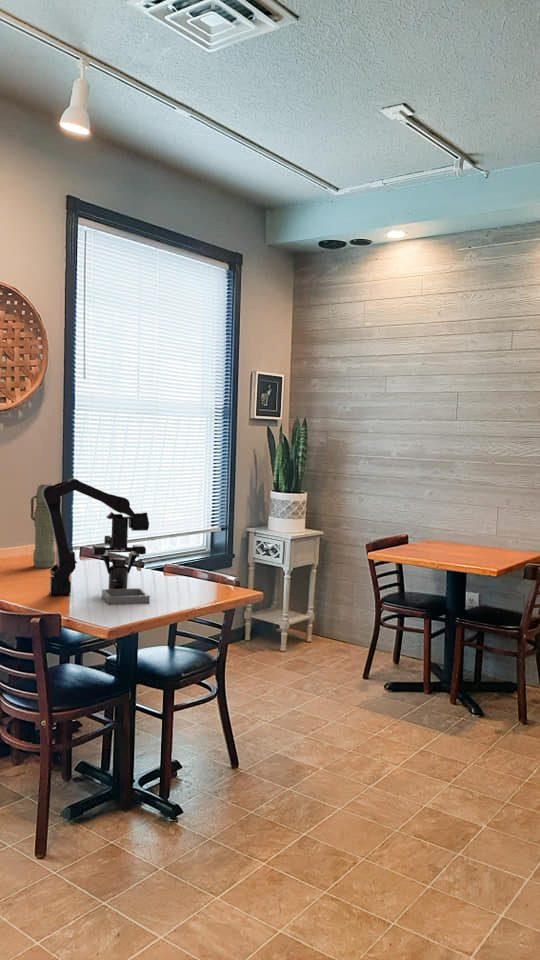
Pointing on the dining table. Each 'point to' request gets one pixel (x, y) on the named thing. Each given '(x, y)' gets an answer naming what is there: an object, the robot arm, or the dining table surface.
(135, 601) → the tray
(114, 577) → the supplement bottle
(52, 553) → the thermos
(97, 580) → the dining table surface
